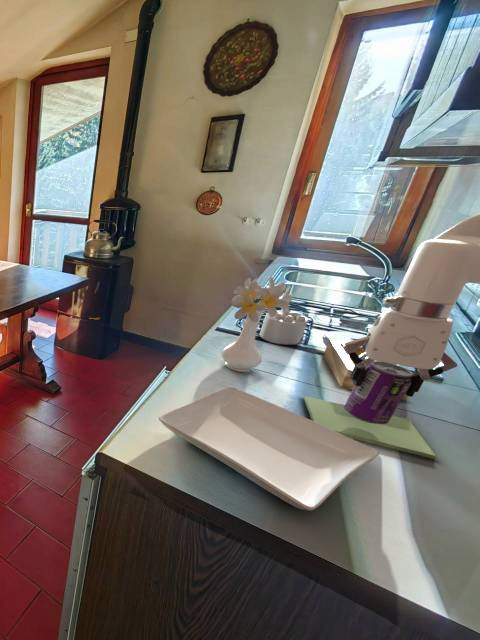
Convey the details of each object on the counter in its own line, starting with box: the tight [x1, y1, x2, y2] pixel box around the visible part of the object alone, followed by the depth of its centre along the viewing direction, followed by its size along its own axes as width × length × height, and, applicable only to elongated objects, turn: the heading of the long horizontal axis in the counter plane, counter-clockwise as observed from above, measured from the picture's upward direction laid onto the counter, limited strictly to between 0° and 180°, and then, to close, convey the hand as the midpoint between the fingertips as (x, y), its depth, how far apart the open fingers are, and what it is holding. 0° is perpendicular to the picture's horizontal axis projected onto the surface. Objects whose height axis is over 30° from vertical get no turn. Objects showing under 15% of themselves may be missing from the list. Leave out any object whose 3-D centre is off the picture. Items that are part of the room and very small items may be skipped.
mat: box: [303, 395, 437, 460], centre depth 84 cm, size 18×14×1 cm
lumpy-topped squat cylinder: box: [259, 309, 309, 345], centre depth 127 cm, size 10×13×9 cm
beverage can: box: [343, 361, 414, 424], centre depth 81 cm, size 7×7×12 cm
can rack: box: [323, 339, 409, 401], centre depth 104 cm, size 12×22×5 cm, turn 149°
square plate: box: [158, 385, 380, 512], centre depth 76 cm, size 27×27×4 cm
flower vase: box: [220, 276, 294, 373], centre depth 103 cm, size 13×18×25 cm
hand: (380, 387), depth 80 cm, fingers closed on beverage can, 7 cm apart
